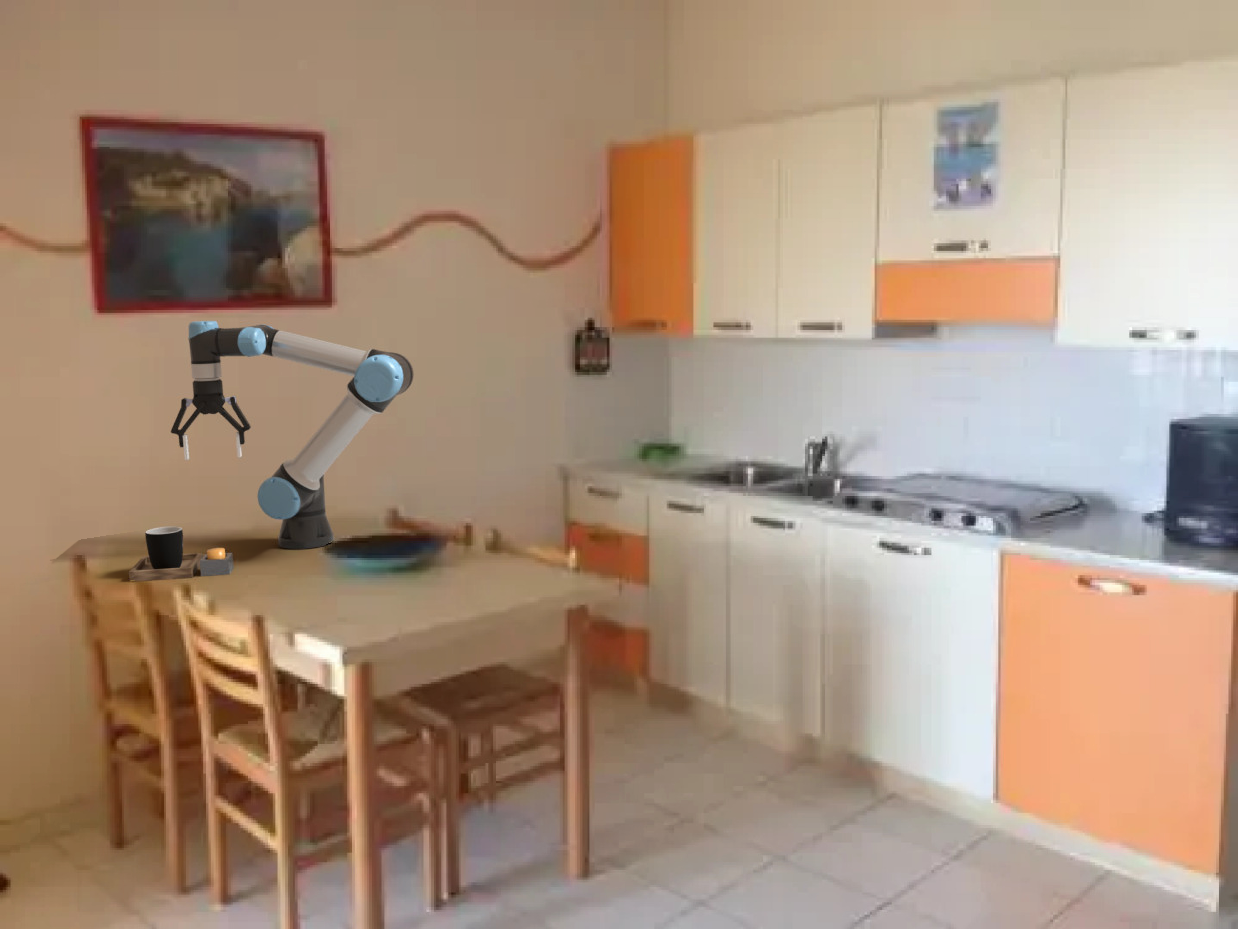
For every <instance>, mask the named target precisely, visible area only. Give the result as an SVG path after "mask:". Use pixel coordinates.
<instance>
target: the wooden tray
mask: <svg viewBox="0 0 1238 929" xmlns="http://www.w3.org/2000/svg"><path fill="white" fill-rule="evenodd" d="M203 556H204V554H203V552H196V553H183V558H182V564H181V566H180V568H169V569H153V567H152V565H151V562H150V559H149V555H147V556H145V555H143V556H142V557H141V558H140V559H139V560H138V562H137V563H135V564H134V566H133V567H132V568H131V569H130V570H129V571H128V577H129V581H130V580H135V581H134V582H143V581H144V582H145V581H159V580H160V581H161V580H174V579H175V580H177V579H191V578H193V577H194V576H195V574H196V573H197V572H198V570H199V569H200V560H201V558H202V557H203ZM196 571H197V572H196Z"/></svg>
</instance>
